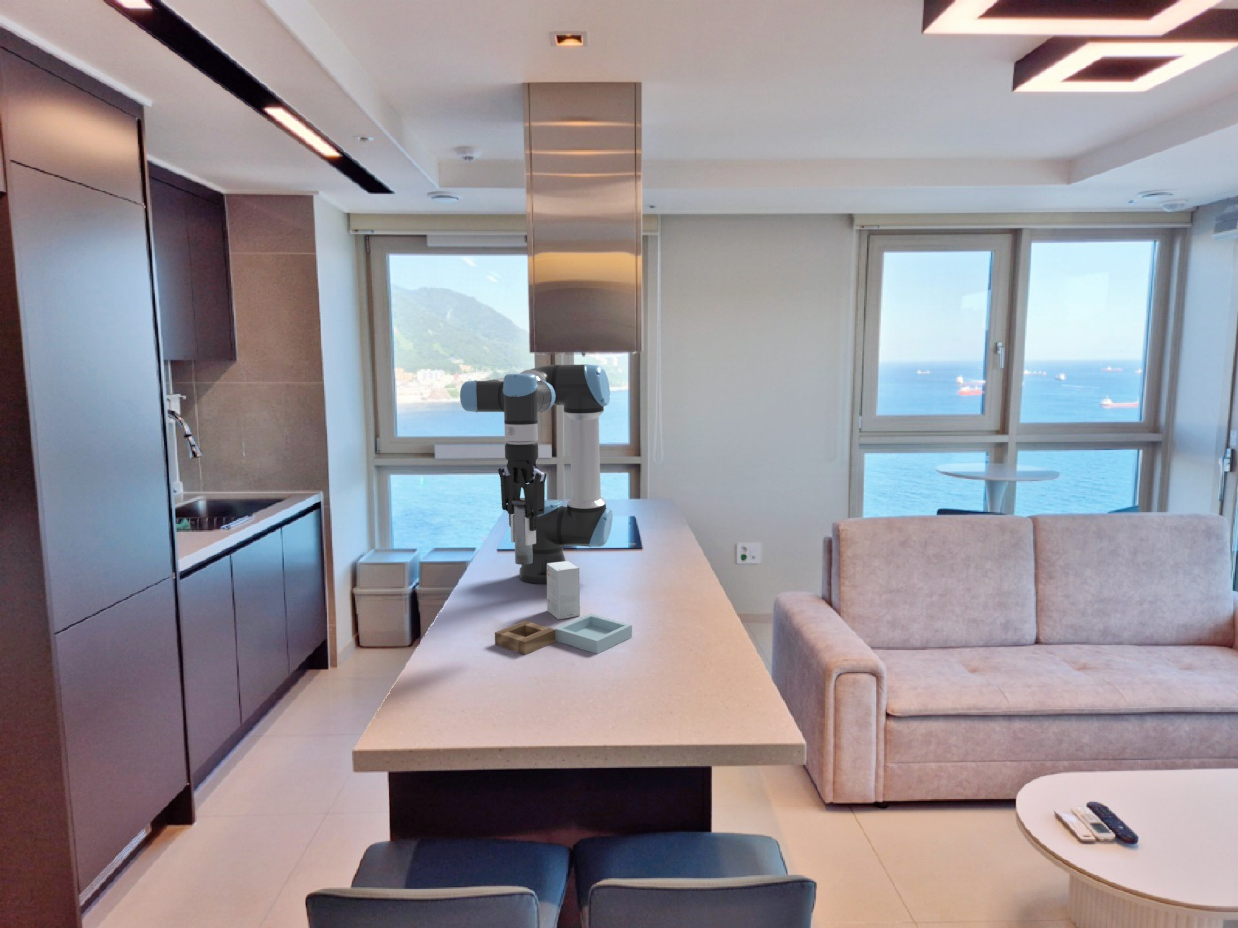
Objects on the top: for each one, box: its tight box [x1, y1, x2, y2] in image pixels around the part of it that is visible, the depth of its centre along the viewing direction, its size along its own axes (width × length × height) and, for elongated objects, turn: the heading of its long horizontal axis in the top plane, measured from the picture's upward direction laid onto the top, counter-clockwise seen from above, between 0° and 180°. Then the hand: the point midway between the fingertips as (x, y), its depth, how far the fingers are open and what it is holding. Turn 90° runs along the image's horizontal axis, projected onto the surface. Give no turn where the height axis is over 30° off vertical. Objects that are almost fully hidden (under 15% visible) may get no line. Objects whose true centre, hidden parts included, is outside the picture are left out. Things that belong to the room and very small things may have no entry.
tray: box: [554, 613, 633, 655], centre depth 180 cm, size 13×13×3 cm
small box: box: [546, 560, 581, 620], centre depth 197 cm, size 8×6×13 cm
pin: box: [512, 497, 533, 566], centre depth 174 cm, size 5×5×15 cm
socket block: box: [494, 620, 556, 656], centre depth 177 cm, size 10×10×3 cm
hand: (523, 542), depth 174 cm, fingers closed on pin, 4 cm apart
